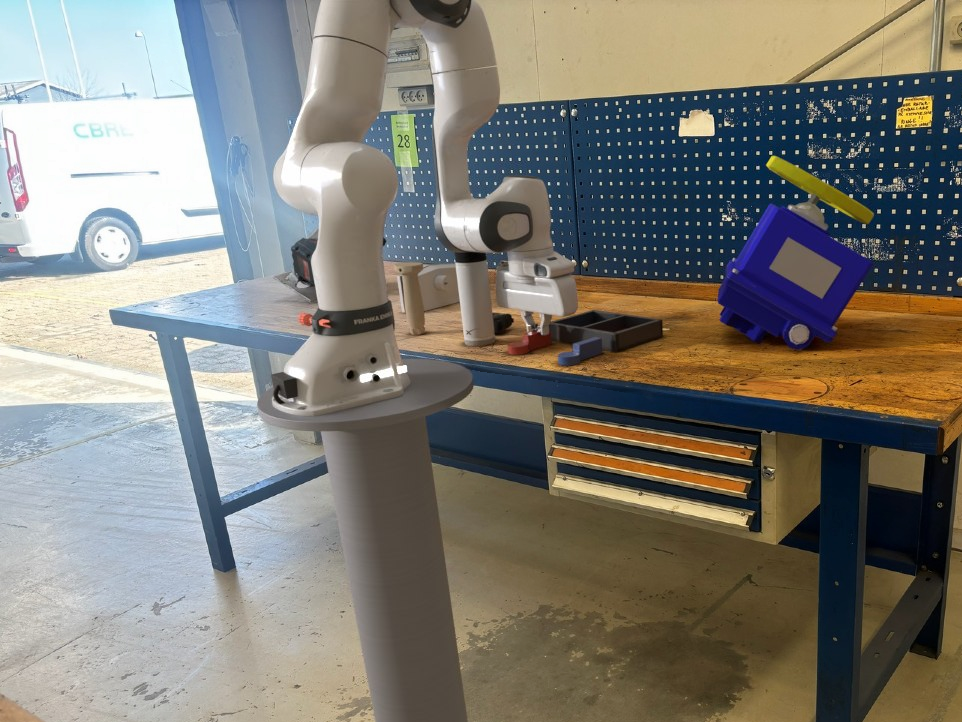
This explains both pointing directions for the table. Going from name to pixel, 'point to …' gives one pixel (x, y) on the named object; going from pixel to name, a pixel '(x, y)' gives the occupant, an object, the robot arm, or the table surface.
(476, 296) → the travel mug
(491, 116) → the robot arm
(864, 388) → the table surface
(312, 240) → the circular saw
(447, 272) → the lock
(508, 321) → the tape measure
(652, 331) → the sorting tray
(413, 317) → the handle
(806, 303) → the control box
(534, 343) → the red stepped block
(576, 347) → the blue stepped block
